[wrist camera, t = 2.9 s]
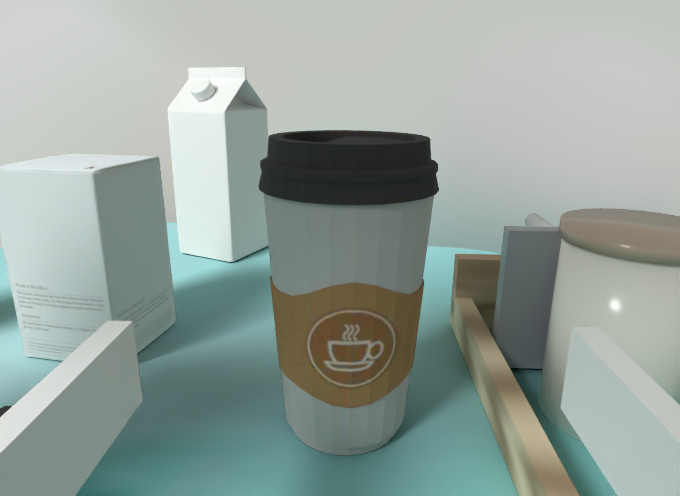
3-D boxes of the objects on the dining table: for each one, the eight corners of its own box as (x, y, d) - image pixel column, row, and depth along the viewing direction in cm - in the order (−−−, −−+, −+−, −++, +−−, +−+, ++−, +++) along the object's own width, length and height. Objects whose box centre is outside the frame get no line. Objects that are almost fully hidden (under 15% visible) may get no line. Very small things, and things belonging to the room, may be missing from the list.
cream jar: (699, 475, 24) (759, 256, 20) (532, 435, 26) (561, 235, 23) (668, 392, 30) (709, 216, 27) (536, 367, 33) (559, 203, 30)
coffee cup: (259, 477, 23) (245, 145, 19) (272, 378, 31) (264, 129, 27) (439, 471, 24) (466, 147, 19) (406, 375, 32) (420, 130, 27)
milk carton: (221, 237, 61) (211, 69, 55) (271, 246, 58) (266, 68, 52) (179, 253, 54) (162, 66, 49) (232, 264, 51) (221, 65, 46)
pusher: (660, 371, 32) (691, 234, 29) (493, 367, 32) (509, 230, 29) (585, 302, 42) (603, 195, 40) (459, 299, 43) (469, 193, 40)
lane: (1064, 711, 15) (1157, 566, 13) (596, 690, 15) (629, 547, 13) (625, 325, 39) (639, 257, 37) (449, 321, 39) (455, 253, 37)
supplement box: (180, 322, 39) (164, 154, 35) (118, 372, 32) (91, 170, 28) (95, 312, 40) (71, 151, 36) (19, 358, 33) (-20, 164, 30)
